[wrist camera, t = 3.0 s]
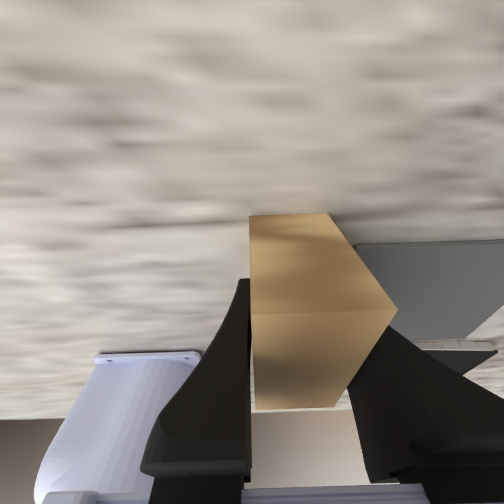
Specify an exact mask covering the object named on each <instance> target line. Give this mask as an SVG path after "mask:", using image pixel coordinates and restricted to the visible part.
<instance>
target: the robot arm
mask: <svg viewBox="0 0 504 504" xmlns="http://www.w3.org/2000/svg"><path fill="white" fill-rule="evenodd" d="M251 341H252V327H251V294H250V278H247V279H240V280H239V281H238V286H237V290H236V293H235V295H234V298H233V301H232V303H231V306H230V308H229V310H228V313H227V315H226V317H225V319H224V321H223V323H222V325H221V327H220V329H219V330H218V332H217V334H216V336H215V338H214V339H213V341H212V343H211V344H210V346H209V347H208V349H207V351H206V352H205V354H204V355H203V357H202V358H201V356H200V354H199V353H198V352H195V351H189V352H159V353H128V354H98V355H95V357H94V358H93V361H94V362H95V363H96V364H97V365H96V367H95V368H94V370H93V372H92V374H91V375H90V377H89V379H88V380H87V382H86V384H85V386H84V387H83V389H82V391H81V393H80V394H79V396H78V398H77V399H76V401H75V403H74V405H73V406H72V408H71V410H70V412H69V413H68V415H67V417H66V418H65V420H64V422H63V424H62V426H61V427H60V429H59V431H58V433H57V434H56V436H55V437H54V439H53V441H52V443H51V444H50V446H49V448H48V450H47V452H46V454H45V456H44V459H43V461H42V463H41V466H40V469H39V472H38V475H37V479H36V483H35V488H34V500H35V504H504V399H502V398H501V397H499V396H497V395H495V394H493V393H492V392H490V391H488V390H486V389H485V388H483V387H481V386H479V385H477V384H476V383H474V382H472V381H470V380H469V379H467V378H465V377H464V376H462V375H460V374H459V373H457V372H456V371H454V370H452V369H451V368H449V367H447V366H446V365H444V364H443V363H441V362H440V361H438V360H436V359H435V358H433V357H432V356H431V355H429V354H428V353H426V352H425V351H423V350H422V349H420V348H419V347H417V346H416V345H415V344H413V343H412V342H410V341H409V340H408V339H406V338H405V337H404V336H402V335H401V334H400V333H398V332H397V331H396V330H394V329H393V328H392V327H391V326H389V325H388V326H387V327H386V329H385V331H384V332H383V334H382V335H381V337H380V338H379V340H378V341H377V343H376V344H375V346H374V347H373V349H372V350H371V352H370V353H369V355H368V356H367V358H366V359H365V361H364V362H363V364H362V365H361V367H360V368H359V370H358V371H357V373H356V374H355V376H354V377H353V379H352V380H351V382H350V383H349V385H348V386H347V389H348V393H349V397H350V401H351V405H352V409H353V413H354V417H355V421H356V425H357V430H358V434H359V439H360V444H361V449H362V453H363V458H364V463H365V468H366V471H367V474H368V477H369V480H370V483H400V484H391V485H358V486H324V487H294V488H293V487H292V488H259V489H244V483H247V482H248V483H249V482H251V468H252V453H251V452H252V450H251V449H252V448H251V394H250V356H251Z"/></svg>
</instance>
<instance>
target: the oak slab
mask: <svg viewBox="0 0 504 504" xmlns="http://www.w3.org/2000/svg"><path fill="white" fill-rule="evenodd" d="M249 235H250V294H251V327H252V347H253V366H254V386H255V405H256V410H263V409H293V408H324V407H334V406H335V404H336V403H337V401H338V400H339V398H340V397H341V395H342V394H343V392H344V391H345V389H346V388H347V386H348V385H349V383H350V382H351V380H352V379H353V377H354V376H355V374H356V373H357V371H358V370H359V368H360V367H361V365H362V364H363V362H364V361H365V359H366V358H367V356H368V355H369V353H370V352H371V350H372V349H373V347H374V346H375V344H376V343H377V341H378V340H379V338H380V337H381V335H382V334H383V332H384V331H385V329H386V327H387V326H388V324H389V323H390V321H391V320H392V318H393V317H394V315H395V314H396V312H397V311H398V309H397V308H396V306H395V305H394V303H393V302H392V301H391V299H390V298H389V297H388V295H387V294H386V293H385V291H384V290H383V288H382V287H381V286H380V284H379V283H378V282H377V280H376V279H375V278H374V276H373V275H372V273H371V272H370V271H369V269H368V268H367V267H366V265H365V264H364V263H363V261H362V260H361V258H360V257H359V256H358V254H357V253H356V252H355V250H354V249H353V248H352V246H351V245H350V243H349V242H348V241H347V239H346V238H345V237H344V235H343V234H342V233H341V231H340V230H339V229H338V227H337V226H336V224H335V223H334V222H333V220H332V219H331V218H330V216H329V215H328V214H327V213H320V214H291V215H261V216H249Z"/></svg>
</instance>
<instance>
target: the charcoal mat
mask: <svg viewBox="0 0 504 504" xmlns="http://www.w3.org/2000/svg"><path fill="white" fill-rule="evenodd" d="M354 250H355V252H356V253H357V254H358V256H359V257H360V258H361V260H362V261H363V263H364V264H365V265H366V267H367V268H368V269H369V271H370V272H371V273H372V275H373V276H374V278H375V279H376V280H377V282H378V283H379V284H380V286H381V287H382V288H383V290H384V291H385V293H386V294H387V295H388V297H389V298H390V299H391V301H392V302H393V303H394V305H395V306H396V308H397V309H398V311H397V312H396V314H395V315H394V317H393V318H392V320H391V321H390V323H389V324H388V325H389V326H391V327H392V328H393V329H394V330H396V331H397V332H398V333H400V334H401V335H402V336H404V337H405V338H406V339H408V340H440V339H465V338H466V337H467V336H468V335H469V334H471V333H472V332H473V331H474V330H475V329H476V328H477V327H479V326H480V325H481V324H482V323H483V322H484V321H485V320H487V319H488V318H489V317H490V316H491V315H492V314H494V313H495V312H496V311H497V310H498V309H499V308H500V307H502V306H503V305H504V240H479V241H450V242H420V243H390V244H360V245H355V248H354Z"/></svg>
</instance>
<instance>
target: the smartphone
mask: <svg viewBox="0 0 504 504" xmlns="http://www.w3.org/2000/svg"><path fill="white" fill-rule="evenodd" d="M412 343H413V344H415V345H416V346H417V347H419V348H420V349H422V350H423V351H425V352H426V353H428V354H429V355H431V356H432V357H433V358H435V359H436V360H438V361H440V362H441V363H443V364H444V365H446V366H447V367H449V368H451V369H452V370H454V371H456V372H457V373H459V374H460V375H464V374H465V373H467V372H468V371H470V370H471V369H473V368H475V367H476V366H478V365H479V364H481V363H482V362H484V361H486V360H487V359H489V358H490V357H492V356H493V355H495V354H497V353H498V351H497V349H496V348H495V347H494V346H493V345H492V344H491V343H490V342H473V341H442V342H412Z"/></svg>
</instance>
